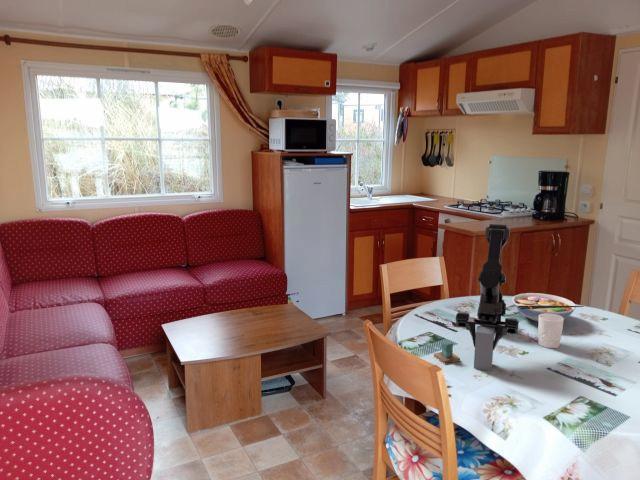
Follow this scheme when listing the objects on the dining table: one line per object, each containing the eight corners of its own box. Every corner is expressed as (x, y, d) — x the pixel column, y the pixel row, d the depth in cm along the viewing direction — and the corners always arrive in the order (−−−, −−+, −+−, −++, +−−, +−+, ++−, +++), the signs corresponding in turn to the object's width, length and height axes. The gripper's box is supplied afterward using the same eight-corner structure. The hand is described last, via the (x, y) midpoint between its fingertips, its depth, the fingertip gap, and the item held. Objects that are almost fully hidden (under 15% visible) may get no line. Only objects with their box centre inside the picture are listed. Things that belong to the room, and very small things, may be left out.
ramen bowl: (558, 309, 209) (560, 290, 207) (589, 330, 186) (591, 309, 185) (499, 310, 208) (500, 291, 206) (522, 332, 185) (524, 310, 184)
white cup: (561, 342, 176) (563, 315, 174) (561, 350, 169) (564, 322, 167) (536, 338, 180) (539, 311, 177) (535, 346, 173) (538, 319, 170)
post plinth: (449, 353, 168) (450, 338, 167) (460, 361, 162) (461, 345, 161) (433, 356, 166) (434, 340, 165) (444, 363, 160) (444, 347, 159)
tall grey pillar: (475, 361, 162) (477, 325, 160) (492, 363, 160) (494, 328, 158) (473, 367, 157) (475, 331, 155) (491, 370, 156) (493, 334, 153)
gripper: (457, 288, 161) (451, 333, 153) (520, 294, 154) (517, 342, 146) (459, 304, 170) (453, 347, 162) (519, 310, 163) (515, 356, 155)
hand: (483, 348), depth 156 cm, fingers closed on tall grey pillar, 5 cm apart
